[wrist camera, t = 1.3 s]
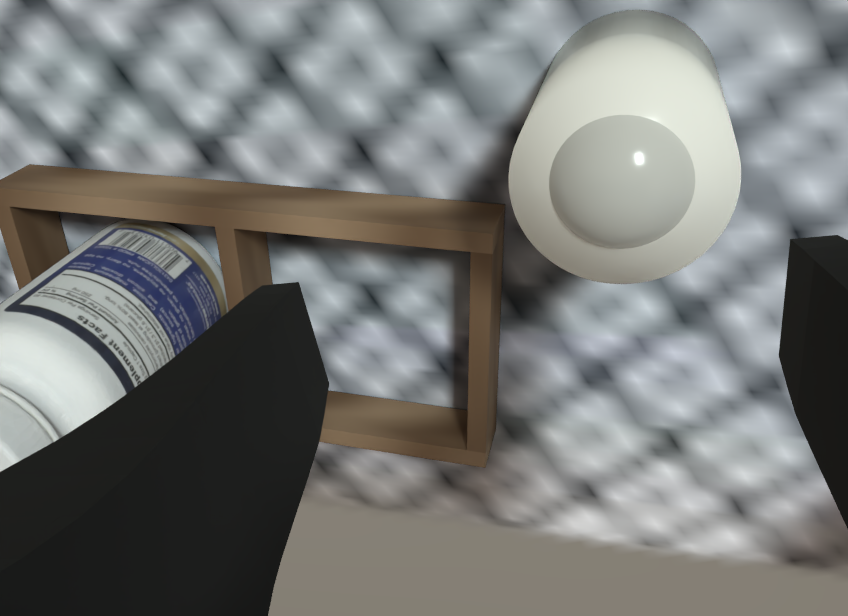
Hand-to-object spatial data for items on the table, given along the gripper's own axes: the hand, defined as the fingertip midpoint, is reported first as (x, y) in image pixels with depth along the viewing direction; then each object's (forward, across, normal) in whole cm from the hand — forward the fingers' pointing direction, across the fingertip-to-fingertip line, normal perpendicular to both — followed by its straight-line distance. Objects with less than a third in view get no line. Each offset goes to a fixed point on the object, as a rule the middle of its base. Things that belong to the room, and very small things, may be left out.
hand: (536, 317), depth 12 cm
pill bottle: (+12, +13, +6) cm, 19 cm away
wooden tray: (+12, +10, +6) cm, 16 cm away
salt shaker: (+10, -2, +1) cm, 11 cm away
